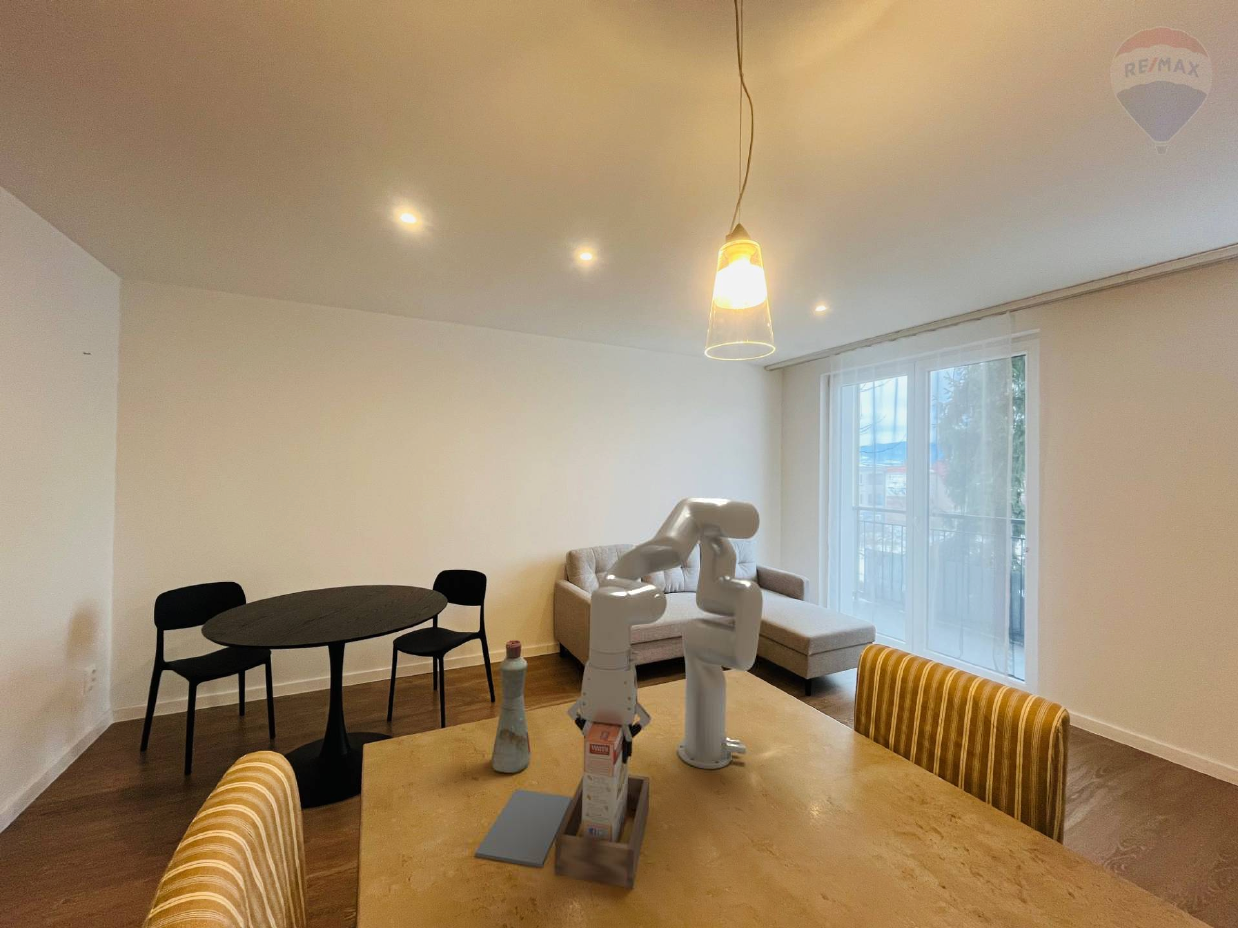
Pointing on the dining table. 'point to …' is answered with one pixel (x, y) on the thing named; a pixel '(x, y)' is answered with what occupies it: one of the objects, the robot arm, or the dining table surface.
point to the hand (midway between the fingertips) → (607, 756)
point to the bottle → (512, 715)
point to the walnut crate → (602, 842)
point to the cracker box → (604, 783)
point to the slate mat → (525, 828)
